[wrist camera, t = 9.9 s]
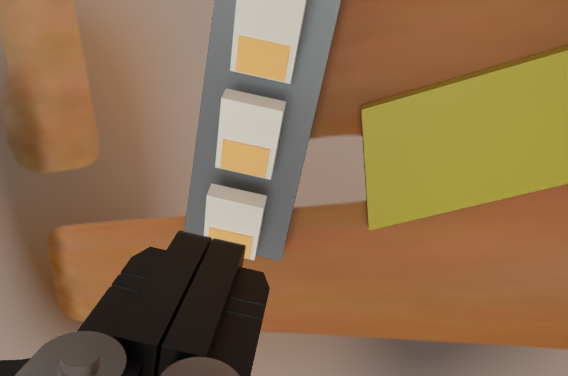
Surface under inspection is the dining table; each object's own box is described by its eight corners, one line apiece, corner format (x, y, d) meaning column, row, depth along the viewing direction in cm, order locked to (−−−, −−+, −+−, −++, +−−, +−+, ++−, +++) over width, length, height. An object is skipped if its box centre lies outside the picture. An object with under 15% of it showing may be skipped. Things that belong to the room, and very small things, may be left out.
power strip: (245, -151, 39) (231, -170, 34) (368, -124, 39) (373, -139, 34) (193, 220, 53) (178, 246, 48) (285, 241, 53) (279, 269, 48)
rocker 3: (211, 183, 43) (205, 196, 42) (267, 195, 43) (263, 209, 42) (207, 236, 48) (202, 250, 47) (257, 247, 48) (253, 261, 47)
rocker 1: (242, -24, 37) (237, -16, 35) (308, -10, 37) (306, -1, 35) (234, 61, 41) (229, 71, 40) (293, 74, 41) (289, 85, 40)
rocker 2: (226, 88, 40) (220, 99, 39) (286, 101, 40) (283, 112, 39) (219, 156, 45) (214, 168, 43) (273, 168, 45) (270, 181, 43)
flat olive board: (607, 32, 42) (335, 111, 48) (620, 34, 40) (335, 117, 46) (618, 160, 47) (367, 220, 52) (630, 168, 45) (369, 230, 50)
